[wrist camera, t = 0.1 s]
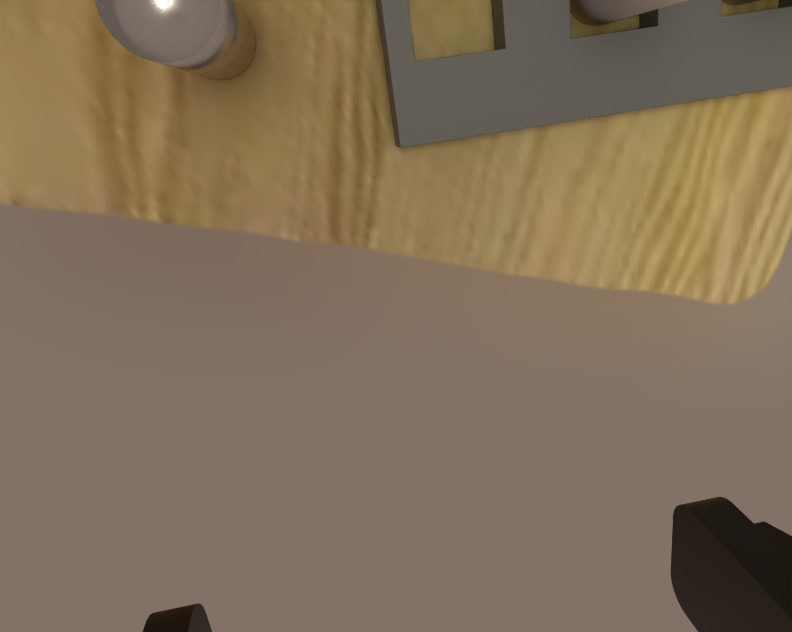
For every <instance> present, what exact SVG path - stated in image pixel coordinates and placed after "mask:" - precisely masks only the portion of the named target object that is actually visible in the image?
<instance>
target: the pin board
mask: <svg viewBox="0 0 792 632" xmlns="http://www.w3.org/2000/svg"><path fill="white" fill-rule="evenodd" d="M722 1H724V2H726V3H728V4H731V5H741V4H745V3H749V2H754V1H758V0H722ZM376 2H377V9H378V17H379V24H380V31H381V39H382V46H383V53H384V61H385V68H386V75H387V83H388V90H389V97H390V105H391V112H392V119H393V127H394V134H395V141H396V146H398V147H400V148H403V147H409V146H415V145H422V144H428V143H434V142H441V141H447V140H453V139H459V138H466V137H472V136H478V135H485V134H491V133H497V132H503V131H510V130H516V129H522V128H529V127H535V126H541V125H547V124H554V123H560V122H566V121H573V120H579V119H585V118H591V117H598V116H604V115H610V114H617V113H623V112H629V111H635V110H642V109H648V108H654V107H661V106H667V105H673V104H679V103H686V102H692V101H698V100H705V99H711V98H717V97H723V96H730V95H736V94H742V93H749V92H755V91H761V90H767V89H774V88H780V87H786V86H792V0H779V8H777V9H770V10H764V11H757V12H750V13H743V14H736V15H730V16H723V17H721V0H492V14H493V27H494V41H495V50H492V51H486V52H479V53H472V54H465V55H458V56H452V57H445V58H438V59H431V60H425V61H418V62H415V60H414V51H413V43H412V35H411V26H410V18H409V10H408V1H407V0H376ZM570 11H571V13H572V14H573V16H574V17H575V18H576V19H578V20H579V21H580V22H582V23H584V24H587V25H593V26H596V25H602V24H606V23H610V22H613V21H617V20H620V19H624V18H627V17H631V16H634V15H638V14H640V29H635V30H628V31H621V32H614V33H608V34H601V35H594V36H587V37H580V38H574V39H571V24H570Z"/></svg>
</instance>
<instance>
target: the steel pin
mask: <svg viewBox="0 0 792 632" xmlns="http://www.w3.org/2000/svg"><path fill="white" fill-rule="evenodd" d="M95 2H96V6H97V9H98V12H99V14H100V17H101V19H102V21H103V23H104V24H105V26H106V27H107V29H108V30H109V32H110V33H111V34H112V36H113V37H114V38H115V39H116V40H117V41H118V42H119V43H120V44H121V45H123V46H124V47H125V48H126V49H128V50H129V51H131V52H132V53H134V54H136V55H138V56H140V57H142V58H145V59H148V60H151V61H154V62H158V63H161V64H165V65H168V66H172V67H175V68H178V69H182V70H185V71H189V72H192V73H196V74H199V75H202V76H206V77H209V78H213V79H217V80H228V79H232V78H235V77H237V76H239V75H241V74H242V73H243V72H245V71H246V70H247V69H248V67H249V66H250V64H251V63H252V61H253V58H254V55H255V50H256V39H255V34H254V30H253V28H252V26H251V24H250V22H249V20H248V19H247V17H246V16H245V15H244V13H243V12H242V10H241V9H240V7H239V6H238V5H237V3H236V2H235V0H95Z"/></svg>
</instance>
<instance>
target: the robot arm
mask: <svg viewBox="0 0 792 632" xmlns="http://www.w3.org/2000/svg"><path fill="white" fill-rule="evenodd" d="M671 580H672V584H673V588H674V592H675V595H676V597H677V599H678V602H679V604H680V606H681V607H682V609H683V611H684V613H685V614H686V615H687V617H688V618H689V619H690V621H691V622H692V624H693V625H694V626H695V628H696V629H697V631H698V632H792V536H790V535H788V534H787V533H785V532H783V531H781V530H779V529H777V528H775V527H773V526H772V525H770V524H768V523H766V522H760V523H756V524H754V523H753V522H752V521H750V520H749V519H748V518H747V517H746V516H745V515H744V514H743V513H742V512H741V511H740V510H739V509H738V508H737V507H736V506H735V505H734V504H733V503H732V502H730V501H729V500H728V499H726V498H723V497H716V498H711V499H706V500H702V501H697V502H692V503H687V504H683V505H679V506H677V507H676V508H675V510H674V514H673V535H672V556H671ZM143 632H212V630H211V627H210V624H209V621H208V618H207V615H206V612H205V610H204V608H203V606H202V605H201V604H194V605H189V606H184V607H180V608H174V609H170V610H165V611H160V612H155V613H152V614H151V615H150V616H149V617H148V619H147V621H146V624H145V627H144V630H143Z"/></svg>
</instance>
